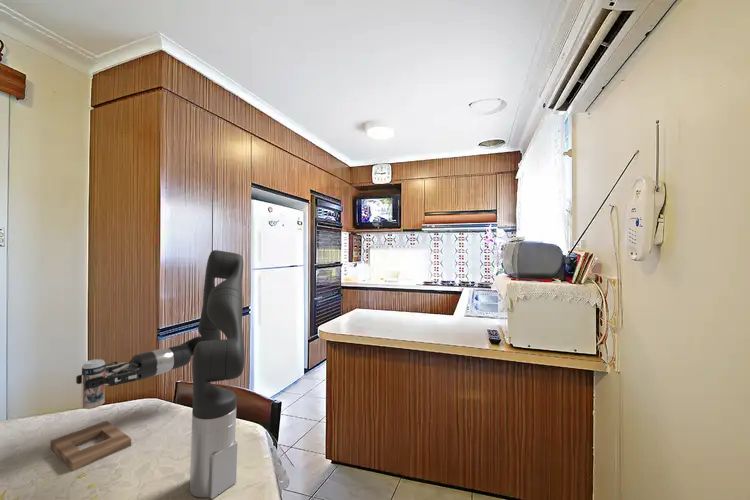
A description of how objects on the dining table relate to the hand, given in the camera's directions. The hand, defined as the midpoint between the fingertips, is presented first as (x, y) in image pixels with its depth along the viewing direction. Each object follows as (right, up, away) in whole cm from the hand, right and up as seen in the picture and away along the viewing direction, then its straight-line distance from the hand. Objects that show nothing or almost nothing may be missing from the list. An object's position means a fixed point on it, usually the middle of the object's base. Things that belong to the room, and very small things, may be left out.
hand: (80, 382), depth 83 cm
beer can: (+1, -7, +2) cm, 8 cm away
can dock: (+1, -18, +2) cm, 18 cm away
